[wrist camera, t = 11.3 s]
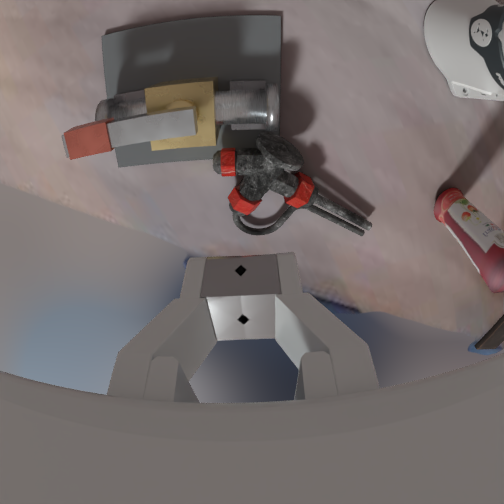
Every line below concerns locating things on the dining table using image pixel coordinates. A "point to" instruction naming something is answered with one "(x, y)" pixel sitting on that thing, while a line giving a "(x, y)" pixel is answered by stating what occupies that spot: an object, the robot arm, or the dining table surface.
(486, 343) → the dark grey flat slab
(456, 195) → the liquor
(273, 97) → the pipe valve
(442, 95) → the dining table surface
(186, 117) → the lever
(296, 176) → the valve
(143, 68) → the mat
